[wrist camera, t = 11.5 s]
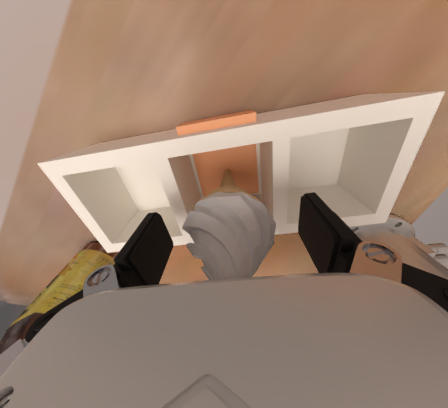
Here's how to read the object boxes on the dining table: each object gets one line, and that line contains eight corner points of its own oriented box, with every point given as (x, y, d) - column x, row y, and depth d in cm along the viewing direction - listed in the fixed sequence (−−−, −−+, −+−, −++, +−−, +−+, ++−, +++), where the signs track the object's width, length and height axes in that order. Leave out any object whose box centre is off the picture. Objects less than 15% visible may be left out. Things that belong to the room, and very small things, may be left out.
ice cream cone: (220, 134, 17) (201, 248, 4) (263, 164, 18) (346, 314, 6) (194, 177, 19) (131, 330, 6) (233, 200, 21) (244, 359, 8)
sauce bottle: (82, 236, 26) (-176, 478, 10) (122, 243, 27) (-51, 481, 10) (90, 262, 30) (-89, 474, 13) (126, 268, 30) (0, 476, 14)
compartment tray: (364, 86, 15) (450, 78, 9) (340, 187, 21) (385, 222, 15) (95, 137, 18) (31, 155, 12) (137, 214, 24) (107, 252, 18)
